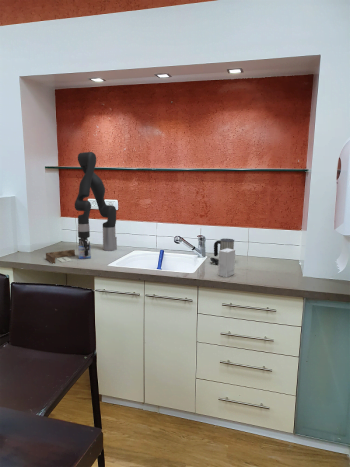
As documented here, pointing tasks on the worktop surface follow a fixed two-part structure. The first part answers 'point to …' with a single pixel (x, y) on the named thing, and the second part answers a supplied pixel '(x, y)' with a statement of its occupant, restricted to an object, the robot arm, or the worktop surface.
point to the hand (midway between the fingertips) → (84, 254)
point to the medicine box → (81, 251)
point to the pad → (64, 259)
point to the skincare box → (226, 262)
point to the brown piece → (59, 255)
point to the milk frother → (222, 247)
